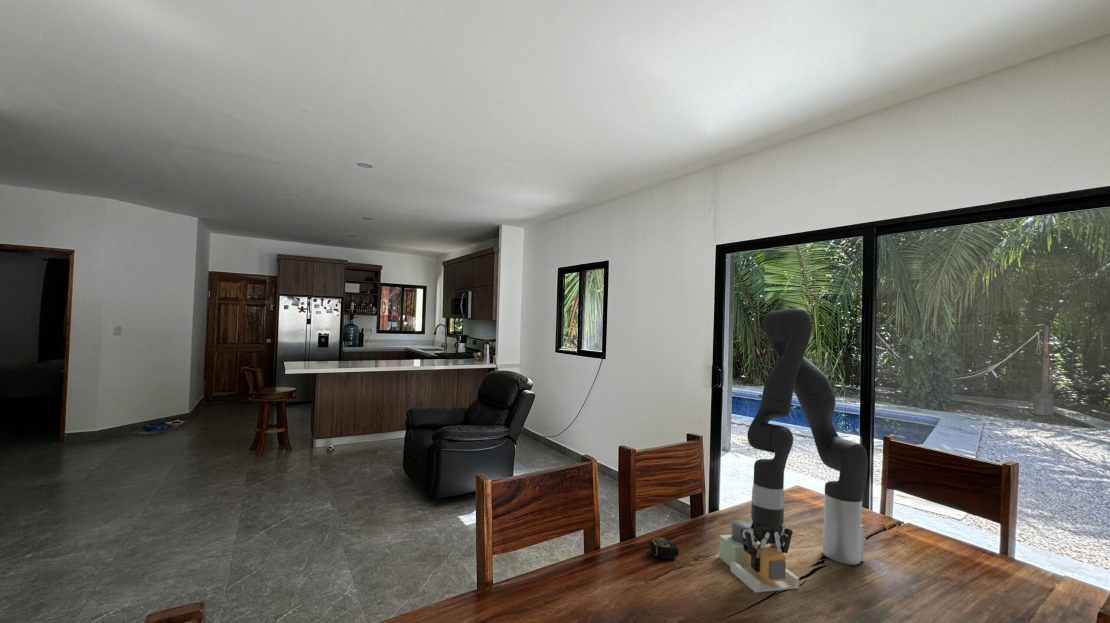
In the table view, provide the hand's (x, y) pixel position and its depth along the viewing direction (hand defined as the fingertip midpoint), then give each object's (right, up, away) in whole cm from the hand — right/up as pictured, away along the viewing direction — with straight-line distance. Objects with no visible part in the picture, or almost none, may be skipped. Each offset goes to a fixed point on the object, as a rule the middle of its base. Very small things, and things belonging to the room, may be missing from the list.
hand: (765, 569), depth 119 cm
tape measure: (-23, -2, +11) cm, 26 cm away
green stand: (-1, -3, +4) cm, 5 cm away
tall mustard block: (0, -1, 0) cm, 1 cm away
